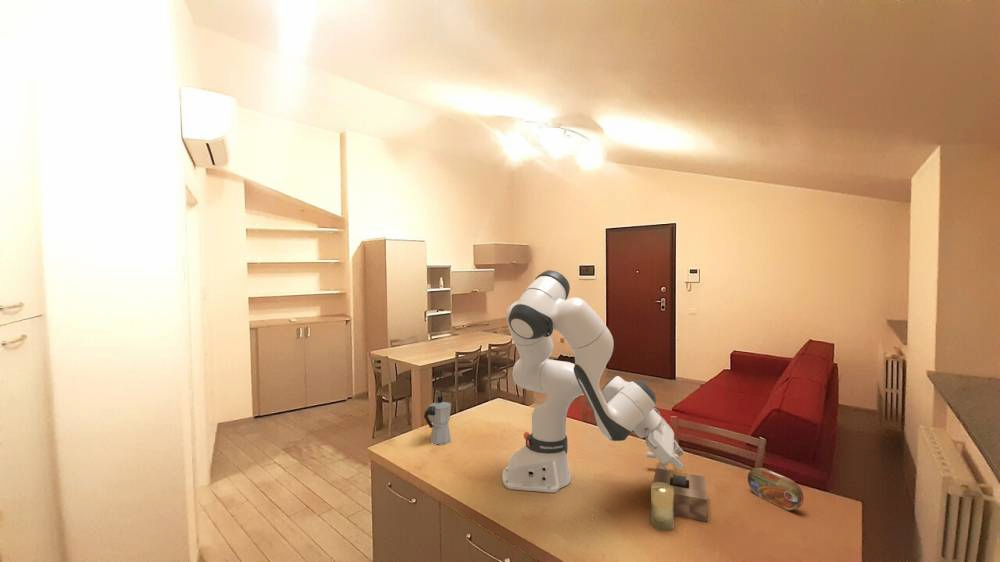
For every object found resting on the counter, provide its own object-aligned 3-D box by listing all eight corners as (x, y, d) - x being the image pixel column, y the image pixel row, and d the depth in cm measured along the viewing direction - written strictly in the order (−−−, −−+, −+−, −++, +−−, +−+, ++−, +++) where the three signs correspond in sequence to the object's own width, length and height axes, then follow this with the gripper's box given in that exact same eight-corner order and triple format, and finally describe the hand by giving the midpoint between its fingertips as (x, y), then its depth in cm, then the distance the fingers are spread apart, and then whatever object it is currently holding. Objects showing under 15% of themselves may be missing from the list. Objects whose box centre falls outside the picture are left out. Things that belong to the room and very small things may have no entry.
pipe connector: (681, 479, 138) (681, 448, 138) (649, 476, 140) (649, 446, 140) (675, 465, 148) (675, 436, 148) (645, 462, 150) (645, 434, 150)
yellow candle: (655, 530, 111) (655, 493, 111) (648, 518, 117) (648, 482, 116) (677, 530, 111) (677, 492, 111) (668, 517, 117) (668, 482, 117)
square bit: (672, 504, 123) (672, 470, 123) (673, 498, 126) (673, 465, 126) (685, 507, 122) (686, 473, 122) (686, 501, 125) (686, 467, 125)
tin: (746, 491, 131) (747, 463, 130) (753, 488, 132) (753, 461, 132) (798, 516, 117) (798, 486, 117) (805, 514, 118) (805, 484, 118)
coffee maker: (443, 433, 178) (443, 390, 178) (459, 438, 173) (458, 394, 173) (417, 445, 166) (416, 399, 166) (433, 451, 161) (432, 403, 161)
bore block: (652, 510, 121) (652, 489, 120) (655, 487, 133) (655, 468, 133) (706, 521, 115) (707, 499, 115) (705, 496, 128) (705, 476, 127)
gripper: (652, 429, 117) (691, 470, 114) (656, 406, 136) (689, 441, 133) (635, 443, 119) (673, 484, 116) (641, 418, 138) (674, 453, 135)
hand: (681, 461), depth 124 cm, fingers open, 8 cm apart
